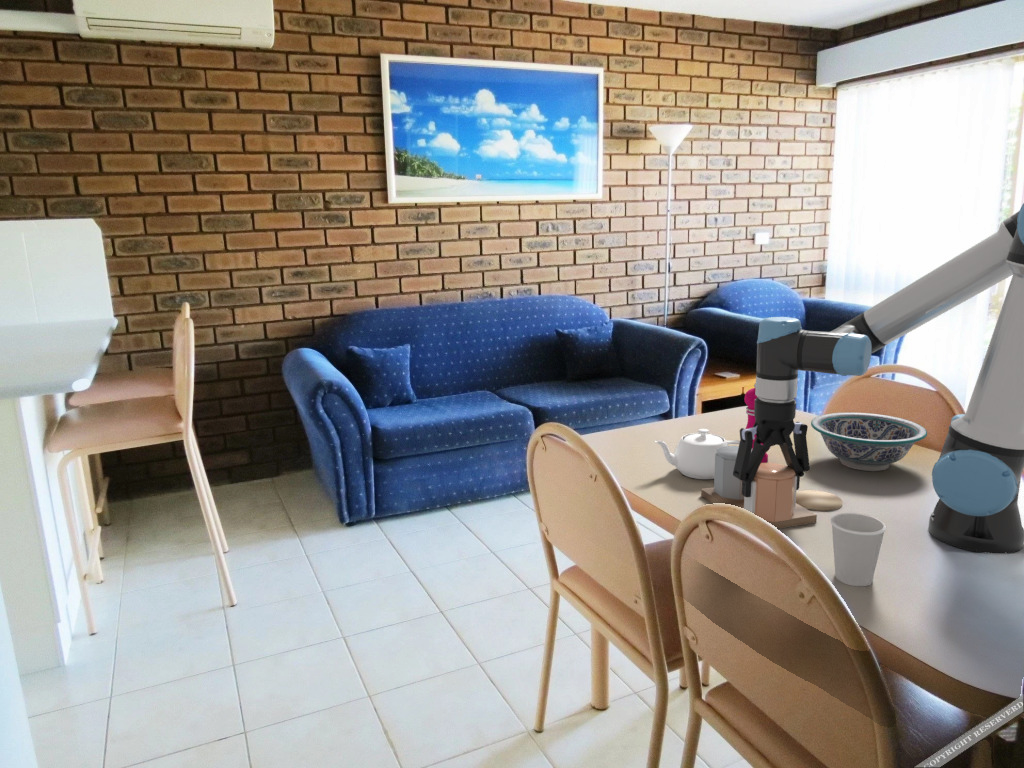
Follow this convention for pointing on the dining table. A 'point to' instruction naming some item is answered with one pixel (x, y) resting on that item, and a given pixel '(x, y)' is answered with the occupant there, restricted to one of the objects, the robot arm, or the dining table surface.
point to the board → (798, 518)
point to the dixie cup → (856, 547)
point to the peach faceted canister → (774, 492)
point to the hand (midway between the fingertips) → (769, 508)
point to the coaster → (818, 500)
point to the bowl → (867, 438)
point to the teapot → (696, 453)
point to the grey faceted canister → (727, 473)
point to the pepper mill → (752, 414)
